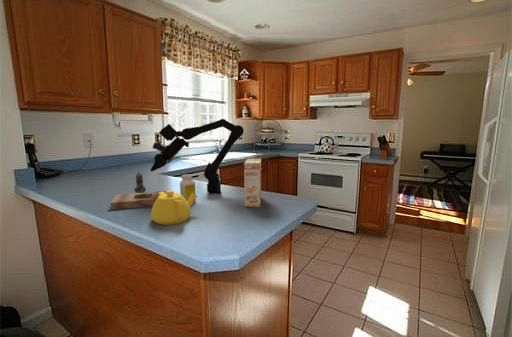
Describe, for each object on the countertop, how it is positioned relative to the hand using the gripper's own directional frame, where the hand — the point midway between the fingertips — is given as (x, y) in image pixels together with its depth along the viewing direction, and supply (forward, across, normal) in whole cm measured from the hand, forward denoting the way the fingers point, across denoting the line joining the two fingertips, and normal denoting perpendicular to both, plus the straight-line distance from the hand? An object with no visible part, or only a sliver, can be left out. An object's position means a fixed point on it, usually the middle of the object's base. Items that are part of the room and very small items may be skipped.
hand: (153, 169), depth 133 cm
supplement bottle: (-4, +16, +23) cm, 29 cm away
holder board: (+10, +14, +8) cm, 19 cm away
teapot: (-3, +36, +22) cm, 43 cm away
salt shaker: (+15, 0, +4) cm, 15 cm away
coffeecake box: (-25, +19, +44) cm, 54 cm away
